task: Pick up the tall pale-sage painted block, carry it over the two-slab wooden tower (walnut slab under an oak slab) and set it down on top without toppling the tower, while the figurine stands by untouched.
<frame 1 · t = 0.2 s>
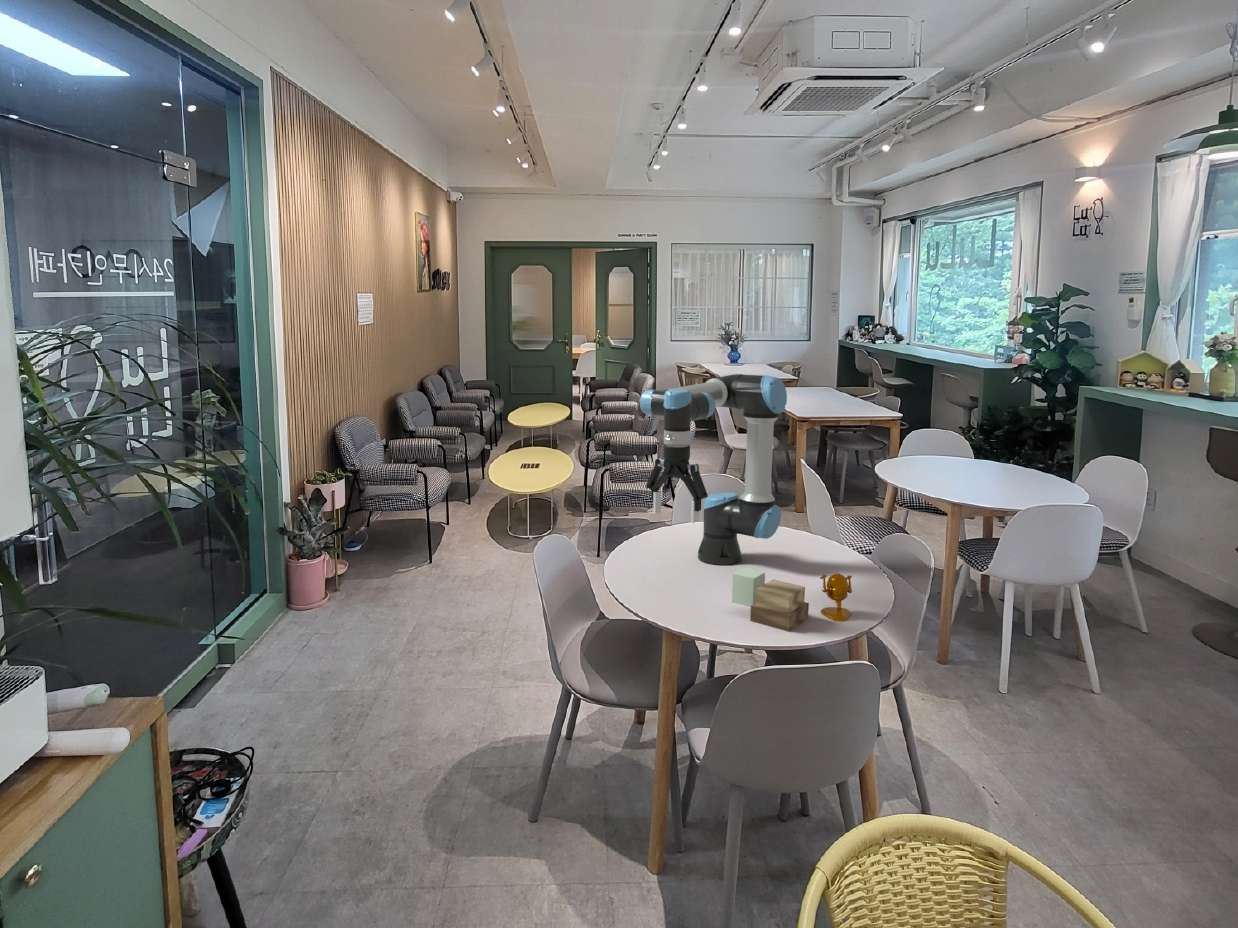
hand: (675, 517, 234), 28 cm above the table, fingers open, 13 cm apart
oak slab: (780, 604, 230), point 5 cm above the table, touching walnut slab
walnut slab: (779, 621, 231), on the table, touching oak slab
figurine: (836, 614, 235), on the table
sage block: (747, 601, 245), on the table
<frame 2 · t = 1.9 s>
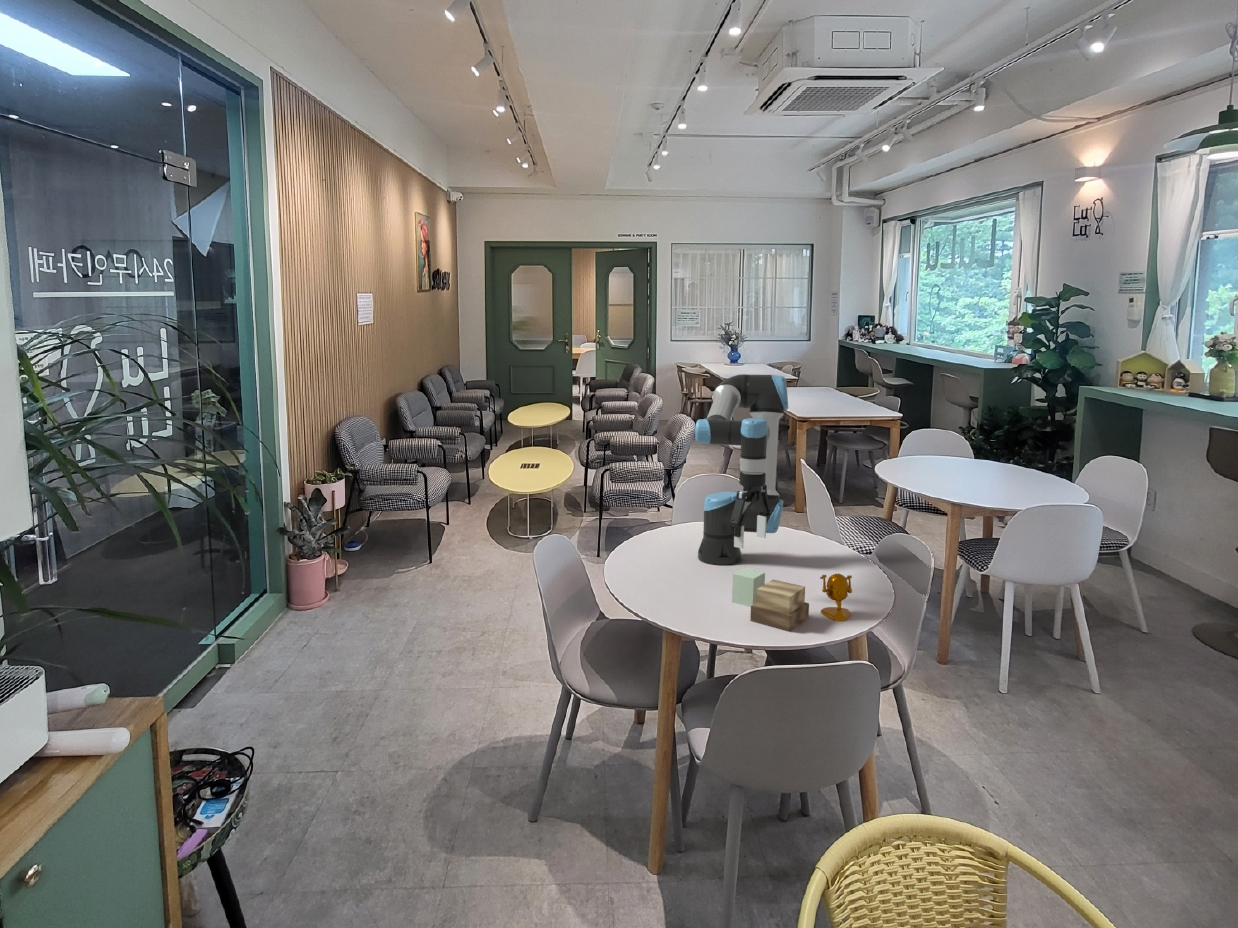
hand: (750, 542, 241), 19 cm above the table, fingers open, 13 cm apart
oak slab: (780, 604, 230), point 5 cm above the table
walnut slab: (779, 621, 231), on the table
everything else where it was.
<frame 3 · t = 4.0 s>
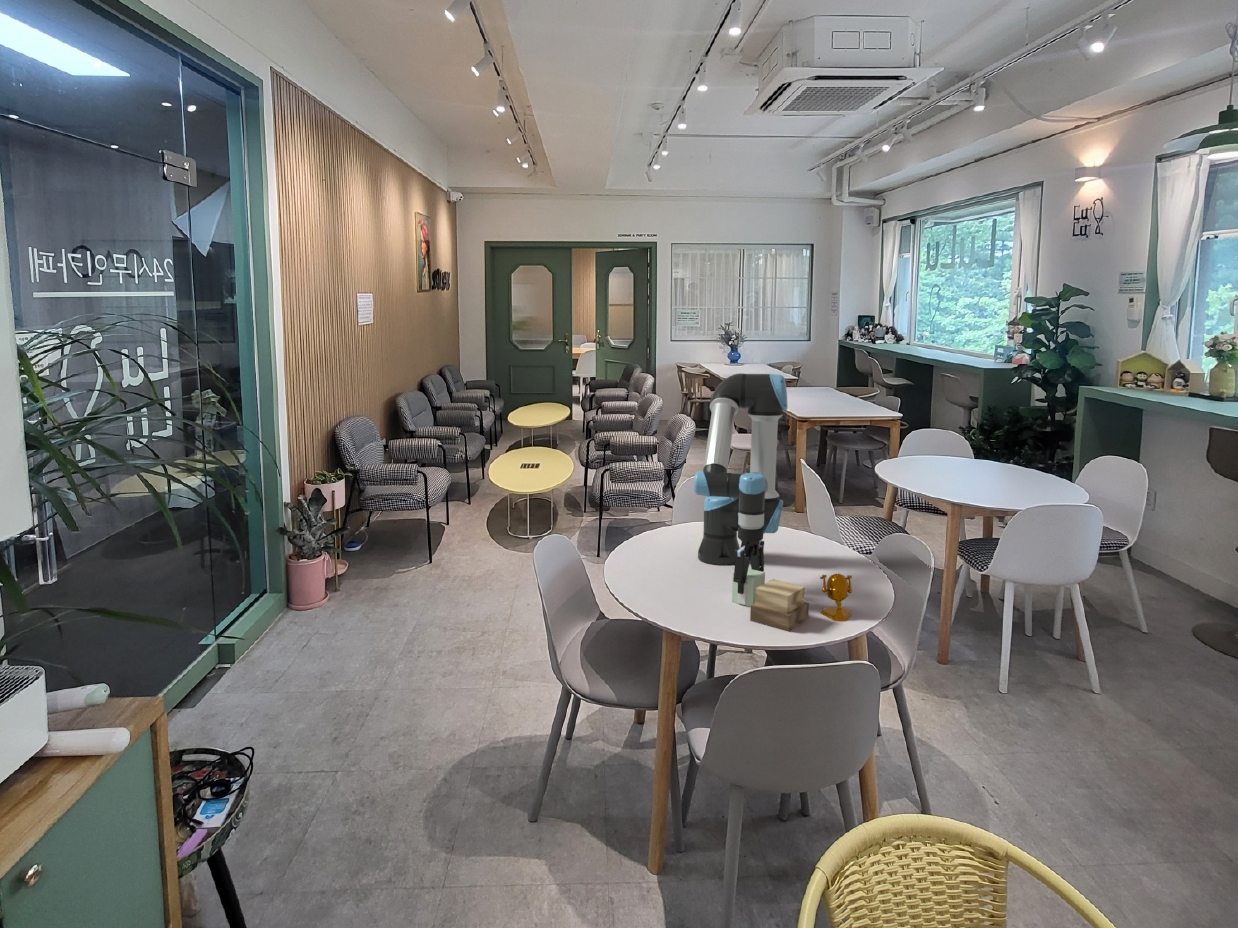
hand: (748, 599, 245), 1 cm above the table, fingers closed on sage block, 7 cm apart
oak slab: (779, 604, 230), point 5 cm above the table, touching walnut slab
walnut slab: (779, 620, 231), on the table, touching oak slab
sage block: (748, 601, 245), on the table, touching gripper
everything else where it was.
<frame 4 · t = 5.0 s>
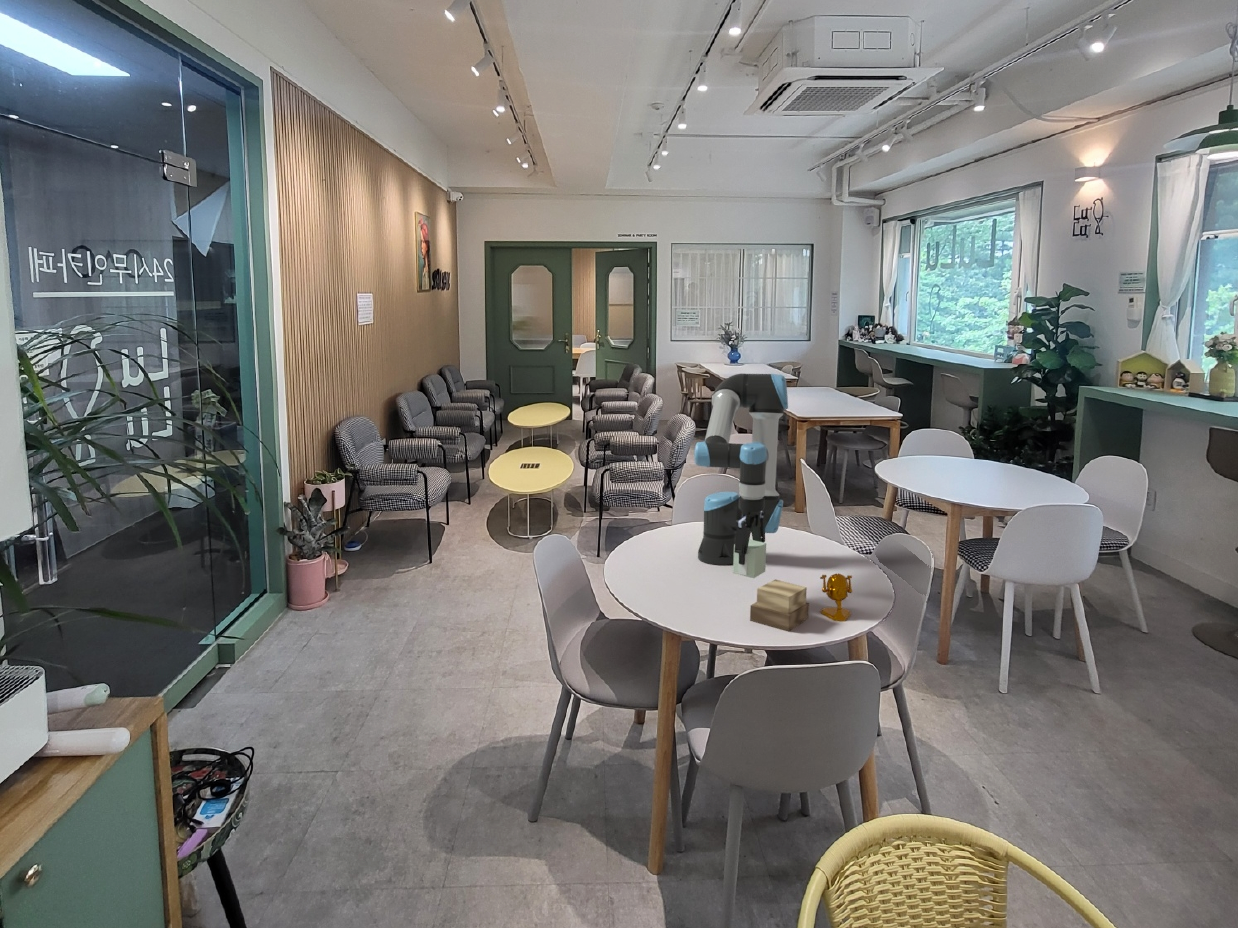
hand: (749, 570, 244), 10 cm above the table, fingers closed on sage block, 7 cm apart
oak slab: (781, 604, 230), point 5 cm above the table
walnut slab: (779, 620, 231), on the table
sage block: (749, 572, 244), point 9 cm above the table, touching gripper
everything else where it was.
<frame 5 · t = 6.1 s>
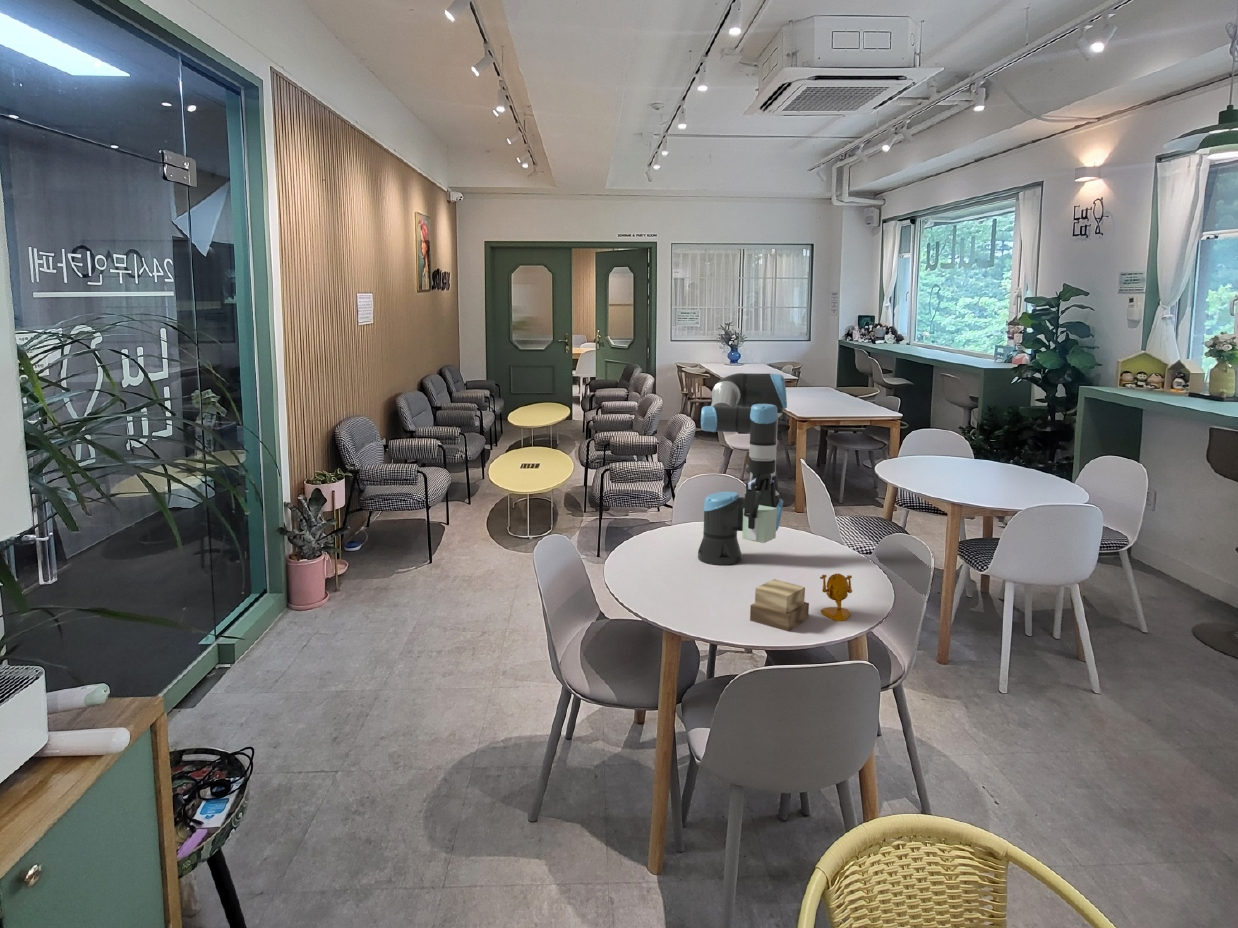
hand: (759, 536, 236), 22 cm above the table, fingers closed on sage block, 7 cm apart
oak slab: (779, 604, 230), point 5 cm above the table, touching walnut slab
walnut slab: (779, 620, 231), on the table, touching oak slab
sage block: (759, 538, 236), point 21 cm above the table, touching gripper
everything else where it was.
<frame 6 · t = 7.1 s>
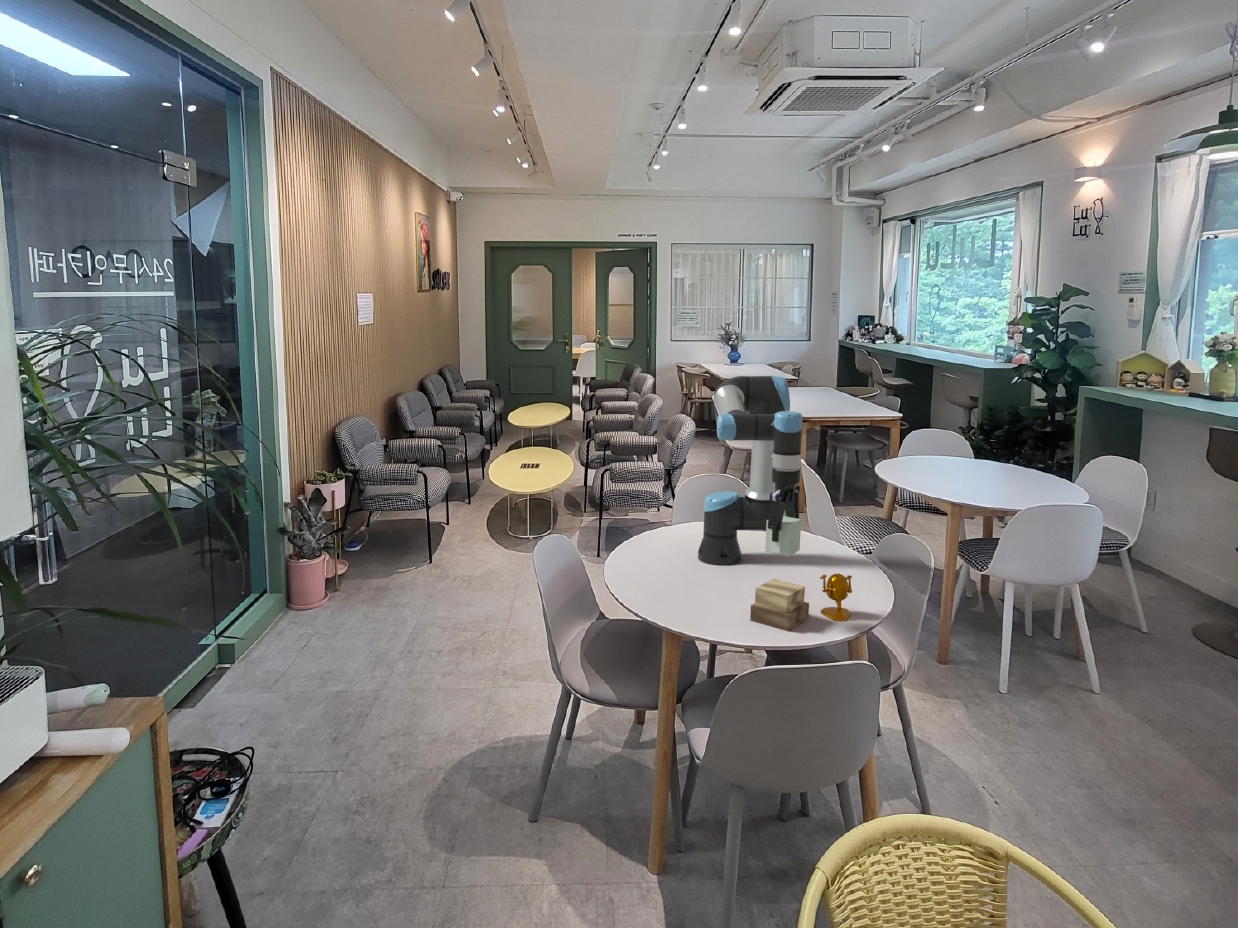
hand: (782, 548, 227), 21 cm above the table, fingers closed on sage block, 7 cm apart
sage block: (782, 550, 227), point 20 cm above the table, touching gripper
everything else where it was.
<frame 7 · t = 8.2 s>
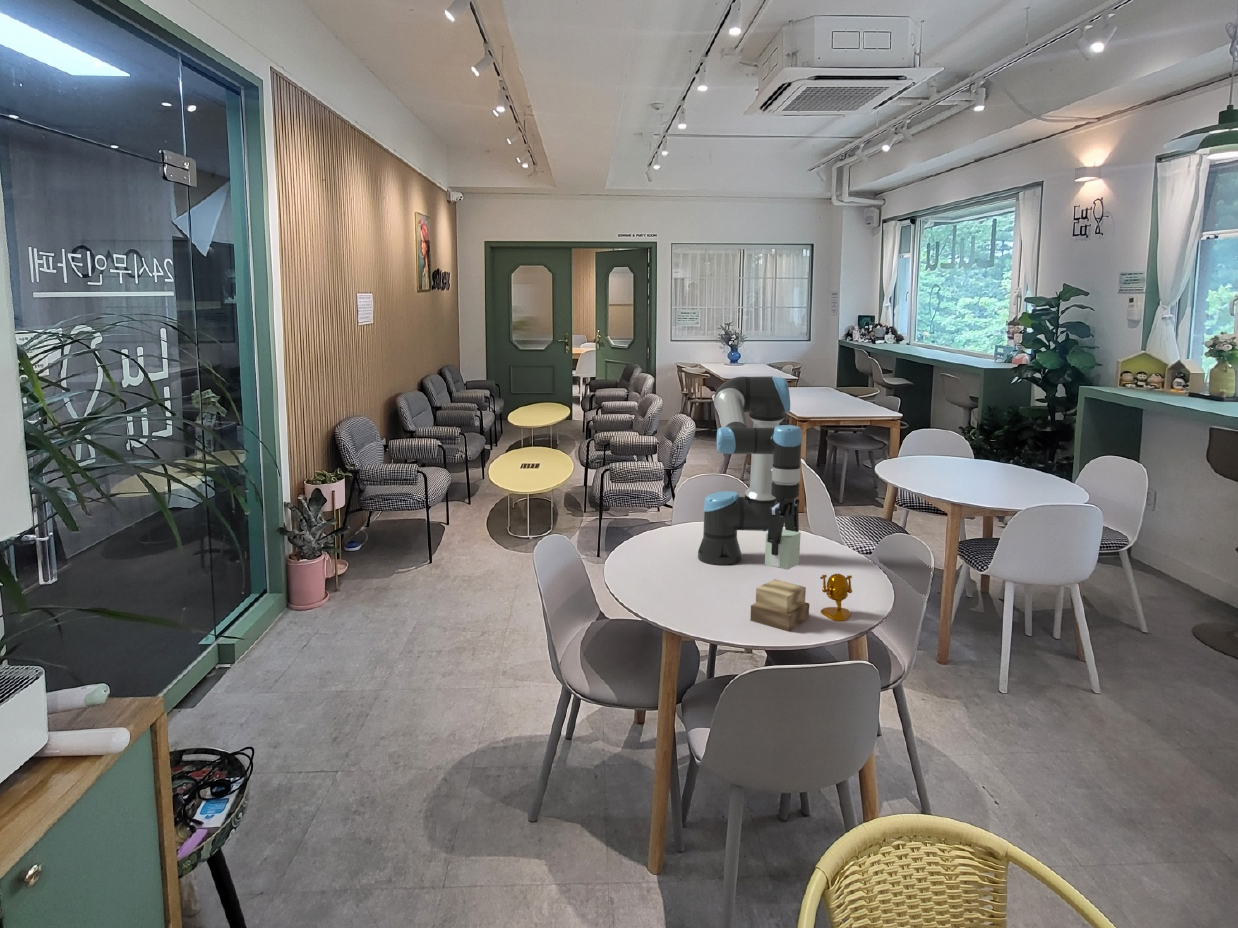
hand: (782, 562, 228), 17 cm above the table, fingers closed on sage block, 7 cm apart
sage block: (781, 564, 228), point 17 cm above the table, touching gripper
everything else where it was.
when the fingers open (11 cm above the table, at t = 10.7 s): sage block drops 1 cm, resting on oak slab.
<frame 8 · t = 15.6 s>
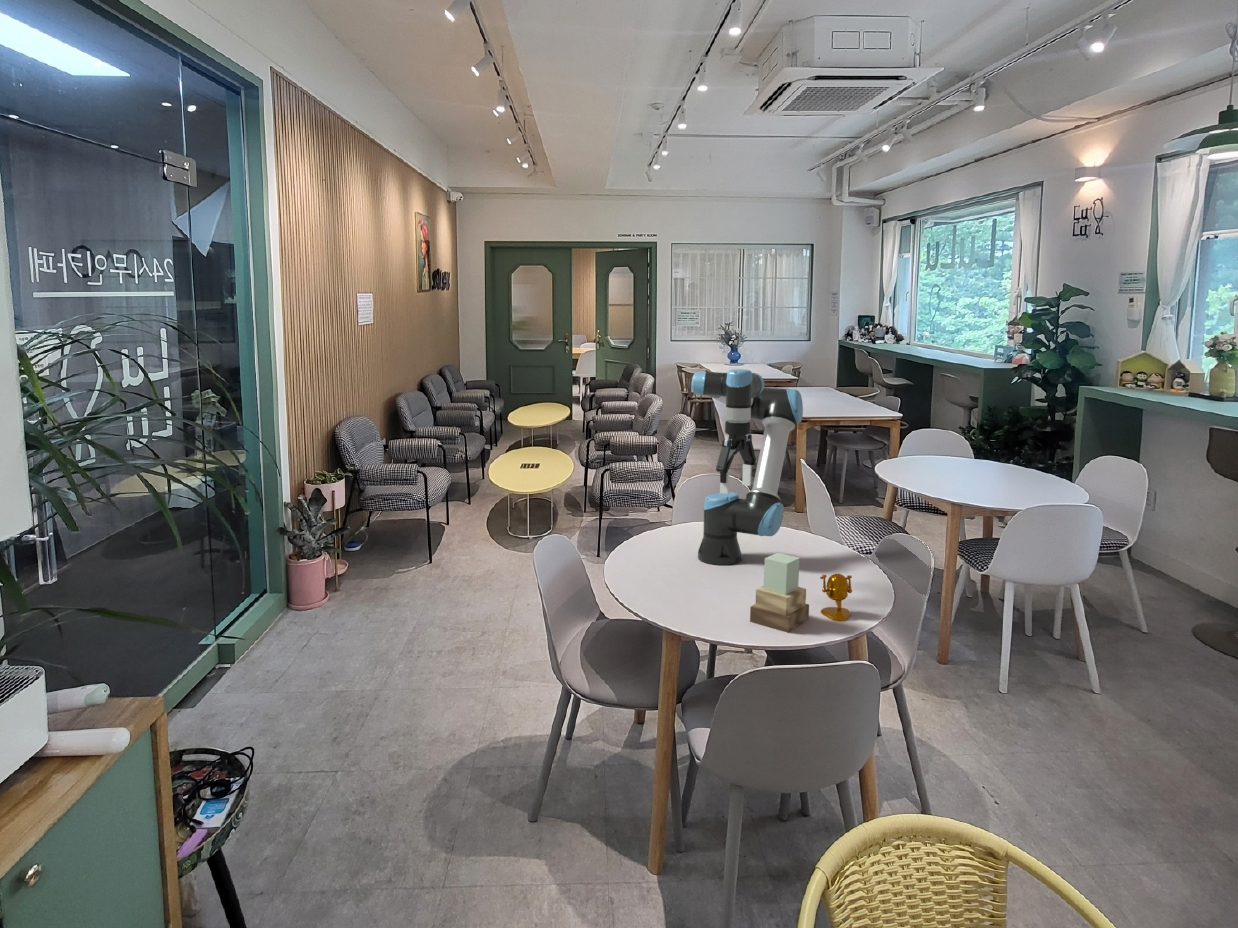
hand: (735, 489, 251), 32 cm above the table, fingers open, 13 cm apart
oak slab: (780, 605, 229), point 5 cm above the table, touching sage block, walnut slab
sage block: (780, 588, 228), point 10 cm above the table, touching oak slab
everything else where it was.
at the end: sage block inside the target area on the walnut slab (0.1 cm from its centre), point 10.0 cm above the walnut slab's base; sage block tilted 0°; oak slab 0.2 cm off-centre on the walnut slab, point 5.0 cm above the walnut slab's base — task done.
